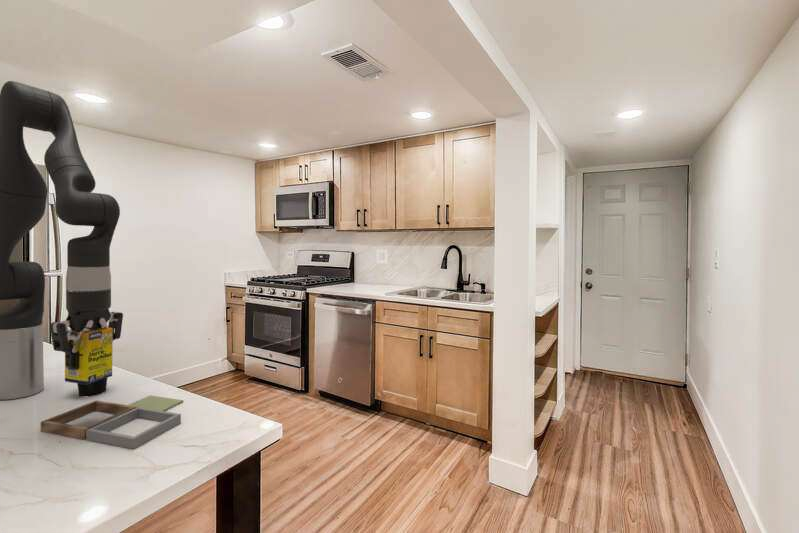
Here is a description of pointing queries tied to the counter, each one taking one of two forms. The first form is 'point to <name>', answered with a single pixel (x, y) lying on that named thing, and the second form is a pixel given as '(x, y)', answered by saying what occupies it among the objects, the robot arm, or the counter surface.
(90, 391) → the cup
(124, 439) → the grey tray
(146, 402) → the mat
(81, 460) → the counter surface
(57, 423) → the walnut tray
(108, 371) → the supplement box
